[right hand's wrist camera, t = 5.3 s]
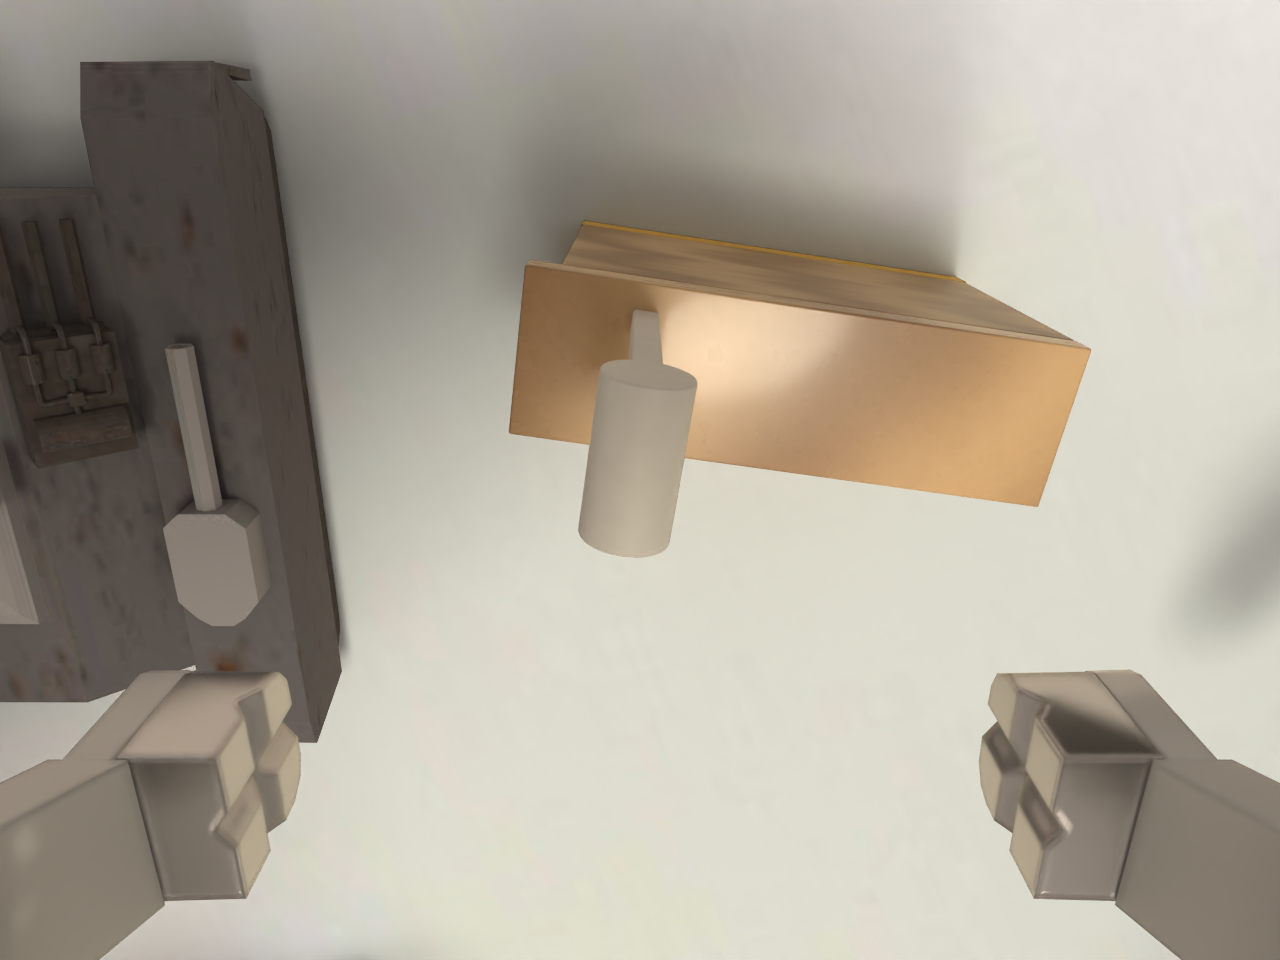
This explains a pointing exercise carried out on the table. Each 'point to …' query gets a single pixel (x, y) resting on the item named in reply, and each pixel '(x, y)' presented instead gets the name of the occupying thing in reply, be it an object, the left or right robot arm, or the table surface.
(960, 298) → the chest
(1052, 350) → the lid
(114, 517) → the toy
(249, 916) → the table surface
